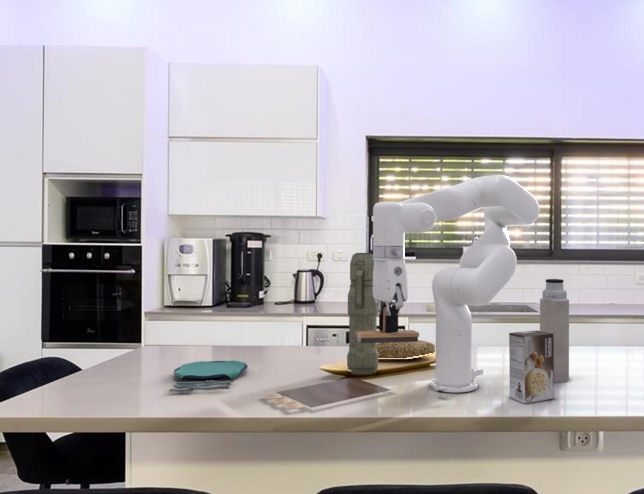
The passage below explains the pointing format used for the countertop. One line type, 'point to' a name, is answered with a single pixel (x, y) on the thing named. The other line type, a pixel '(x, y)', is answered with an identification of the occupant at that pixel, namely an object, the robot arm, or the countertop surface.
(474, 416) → the countertop surface
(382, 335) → the wooden knob plate
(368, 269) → the olive green flask
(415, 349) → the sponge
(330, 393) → the tray
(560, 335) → the thermos bottle
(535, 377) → the brown white upright box
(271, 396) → the crumb
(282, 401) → the crumb
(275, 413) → the countertop surface
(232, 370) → the cutlery set
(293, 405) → the crumb
